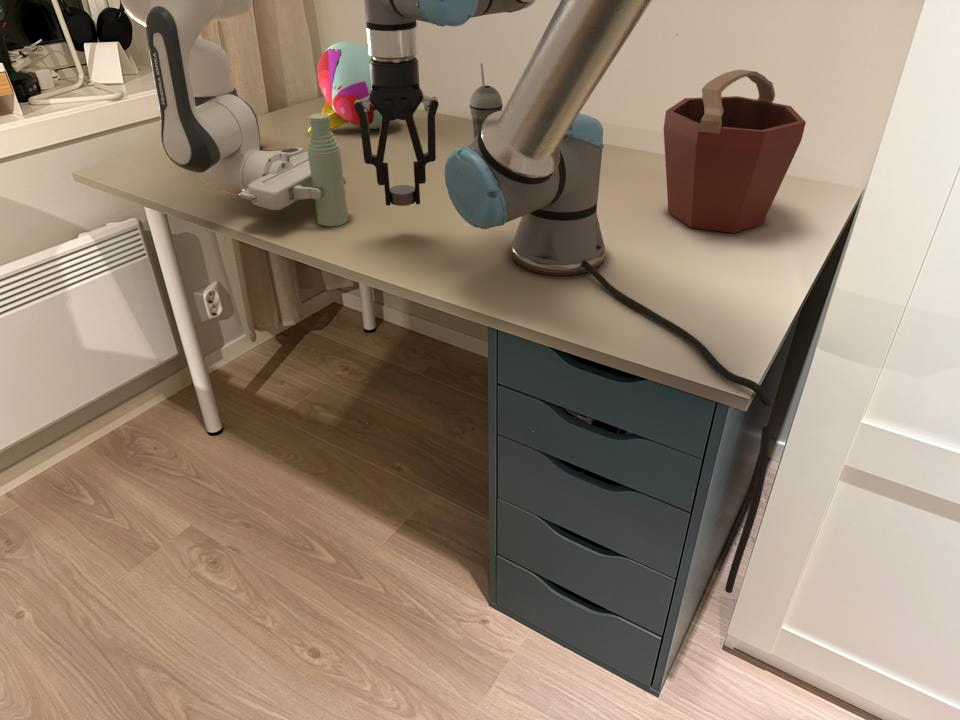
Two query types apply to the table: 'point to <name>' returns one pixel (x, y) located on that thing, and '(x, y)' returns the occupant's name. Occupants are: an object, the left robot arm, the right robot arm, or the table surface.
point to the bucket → (728, 154)
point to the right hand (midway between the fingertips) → (403, 201)
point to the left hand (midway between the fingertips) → (332, 187)
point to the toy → (346, 84)
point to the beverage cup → (484, 104)
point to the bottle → (327, 172)
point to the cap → (402, 195)
